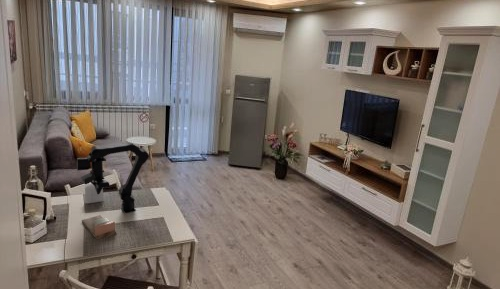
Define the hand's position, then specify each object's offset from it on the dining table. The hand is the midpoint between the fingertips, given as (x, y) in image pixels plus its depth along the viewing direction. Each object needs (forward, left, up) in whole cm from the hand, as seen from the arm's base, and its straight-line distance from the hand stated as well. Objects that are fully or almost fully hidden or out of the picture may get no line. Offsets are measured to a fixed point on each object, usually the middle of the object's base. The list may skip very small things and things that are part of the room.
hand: (98, 194), depth 199 cm
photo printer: (-4, -18, -13) cm, 23 cm away
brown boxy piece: (+6, +15, -13) cm, 21 cm away
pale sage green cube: (+6, +20, -11) cm, 24 cm away
